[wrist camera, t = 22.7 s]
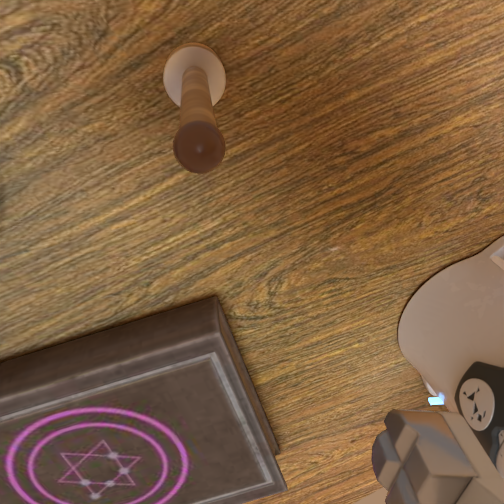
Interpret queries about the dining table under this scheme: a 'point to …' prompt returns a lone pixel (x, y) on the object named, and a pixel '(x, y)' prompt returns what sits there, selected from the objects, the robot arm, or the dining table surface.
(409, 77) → the dining table surface
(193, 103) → the wooden peg stand
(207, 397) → the book
